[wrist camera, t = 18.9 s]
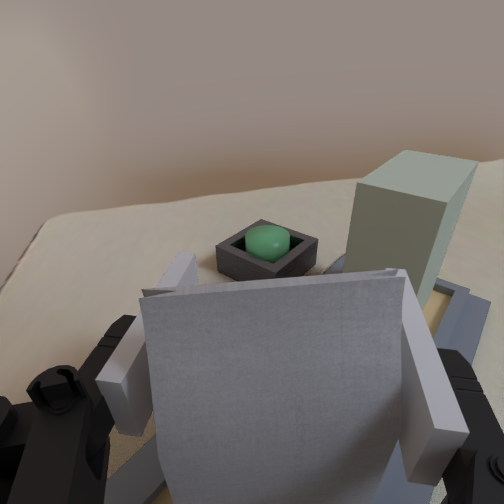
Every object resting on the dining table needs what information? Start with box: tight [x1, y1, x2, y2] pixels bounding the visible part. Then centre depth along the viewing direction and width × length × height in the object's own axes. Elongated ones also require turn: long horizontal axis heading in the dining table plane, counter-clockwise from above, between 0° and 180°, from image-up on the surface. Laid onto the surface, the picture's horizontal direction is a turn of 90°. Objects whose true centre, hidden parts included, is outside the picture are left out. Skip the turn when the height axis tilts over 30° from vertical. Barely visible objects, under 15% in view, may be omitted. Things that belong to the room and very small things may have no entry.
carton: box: [342, 150, 478, 311], centre depth 20 cm, size 7×4×10 cm, turn 141°
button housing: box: [216, 219, 318, 282], centre depth 27 cm, size 6×6×2 cm
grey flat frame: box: [104, 254, 491, 504], centre depth 18 cm, size 25×11×1 cm, turn 141°
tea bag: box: [139, 269, 406, 504], centre depth 11 cm, size 4×7×10 cm, turn 96°
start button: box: [245, 225, 290, 264], centre depth 27 cm, size 4×4×2 cm
